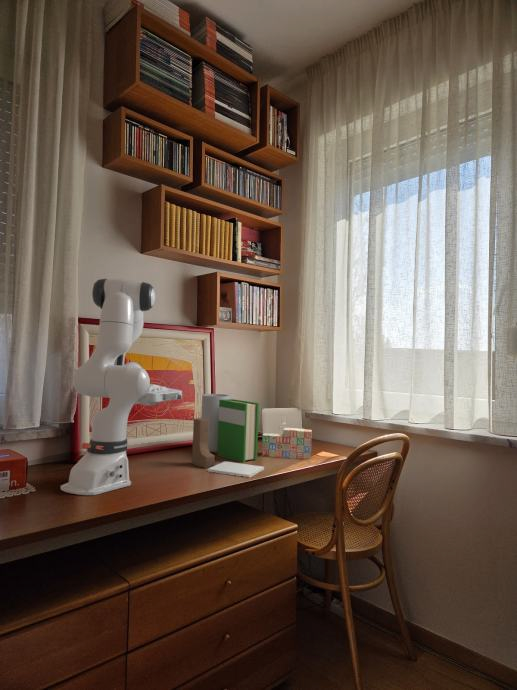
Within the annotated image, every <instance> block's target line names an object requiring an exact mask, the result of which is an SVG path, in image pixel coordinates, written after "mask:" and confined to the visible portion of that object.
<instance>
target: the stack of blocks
mask: <svg viewBox="0 0 517 690" xmlns="http://www.w3.org/2000/svg"><path fill="white" fill-rule="evenodd" d="M312 434H313V430H312V429H308V428H307V429H306V428H302V427H301V428H296V427H295V428H294V427H284V428H283V433H271V432H270V433H269V432H268V433H267V432H264V433H263V434H262V440H261V441H262V445H261V456H262V457H270V458H282V459H283V458H284V459H297V460H298V459H299V460H308V459H310V460H311V458H312V438H313V437H312Z"/></svg>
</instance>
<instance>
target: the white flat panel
mask: <svg viewBox="0 0 517 690" xmlns="http://www.w3.org/2000/svg"><path fill="white" fill-rule="evenodd" d="M264 470H265V466H261V465H254V464H246V463H241V462H240V463H238V462H232V461H225V460H224V461H223V462H220V463H218V464H216V465H215V464H214V466H213V467H211V468H207V472H208V473H214V472H215V473H216V474H221V473H222V474H221V475H227V474H228V476H234V475H236V477H241V476H243V477H242V478H247V477H250V478H251V477H253V476H255V475H257V474H258V473H260V472H262V471H264Z"/></svg>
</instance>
